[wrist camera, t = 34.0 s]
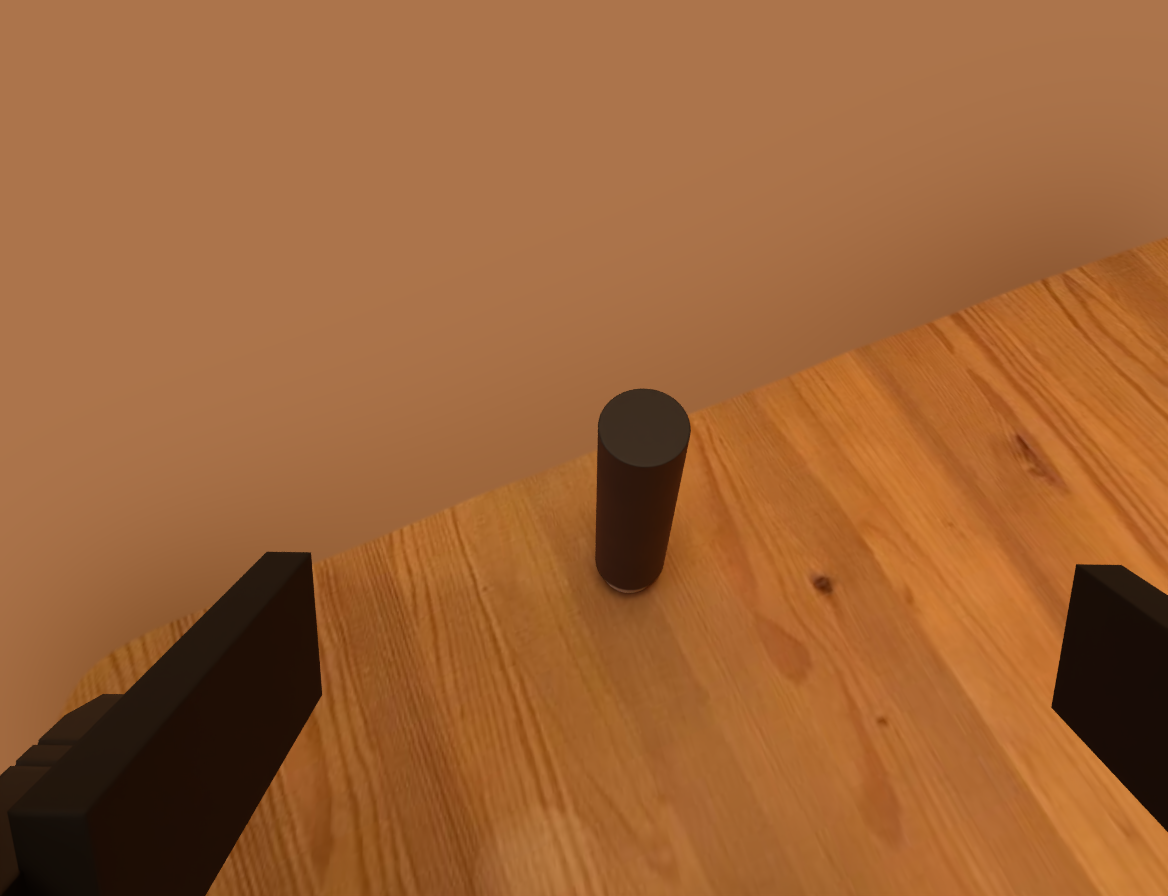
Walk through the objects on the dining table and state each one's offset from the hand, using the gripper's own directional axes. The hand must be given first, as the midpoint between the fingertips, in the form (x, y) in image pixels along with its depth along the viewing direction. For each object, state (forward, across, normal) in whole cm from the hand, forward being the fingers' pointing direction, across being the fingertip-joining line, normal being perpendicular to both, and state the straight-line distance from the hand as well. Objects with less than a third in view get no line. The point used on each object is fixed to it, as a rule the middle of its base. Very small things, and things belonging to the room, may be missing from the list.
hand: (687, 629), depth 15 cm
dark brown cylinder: (+24, 0, -9) cm, 26 cm away
